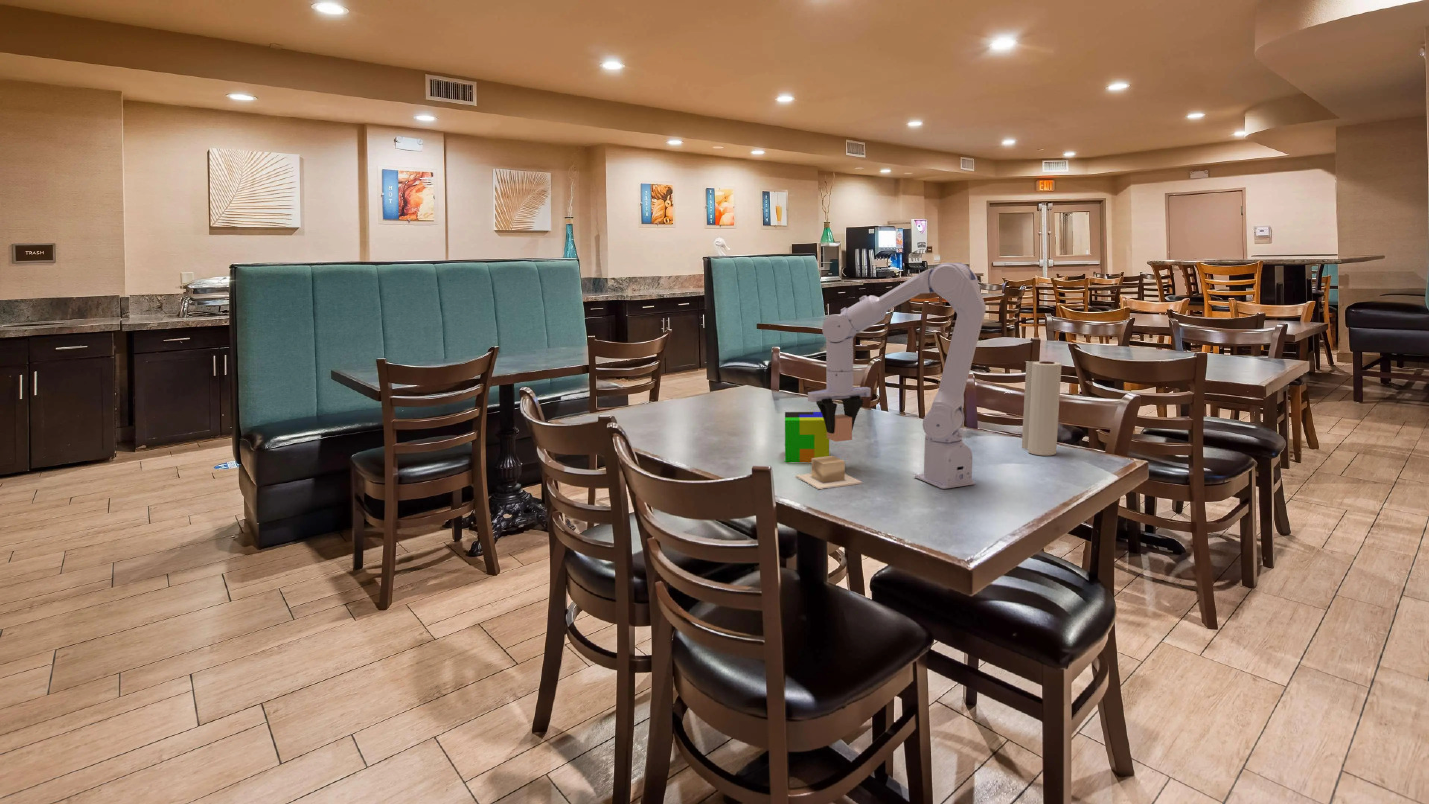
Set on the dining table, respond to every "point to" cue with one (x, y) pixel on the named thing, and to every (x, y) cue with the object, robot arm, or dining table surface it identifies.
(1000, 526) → the dining table surface
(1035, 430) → the paper towel roll
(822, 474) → the maple block
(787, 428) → the puzzle toy
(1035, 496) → the dining table surface
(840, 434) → the terracotta block
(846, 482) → the square frame
